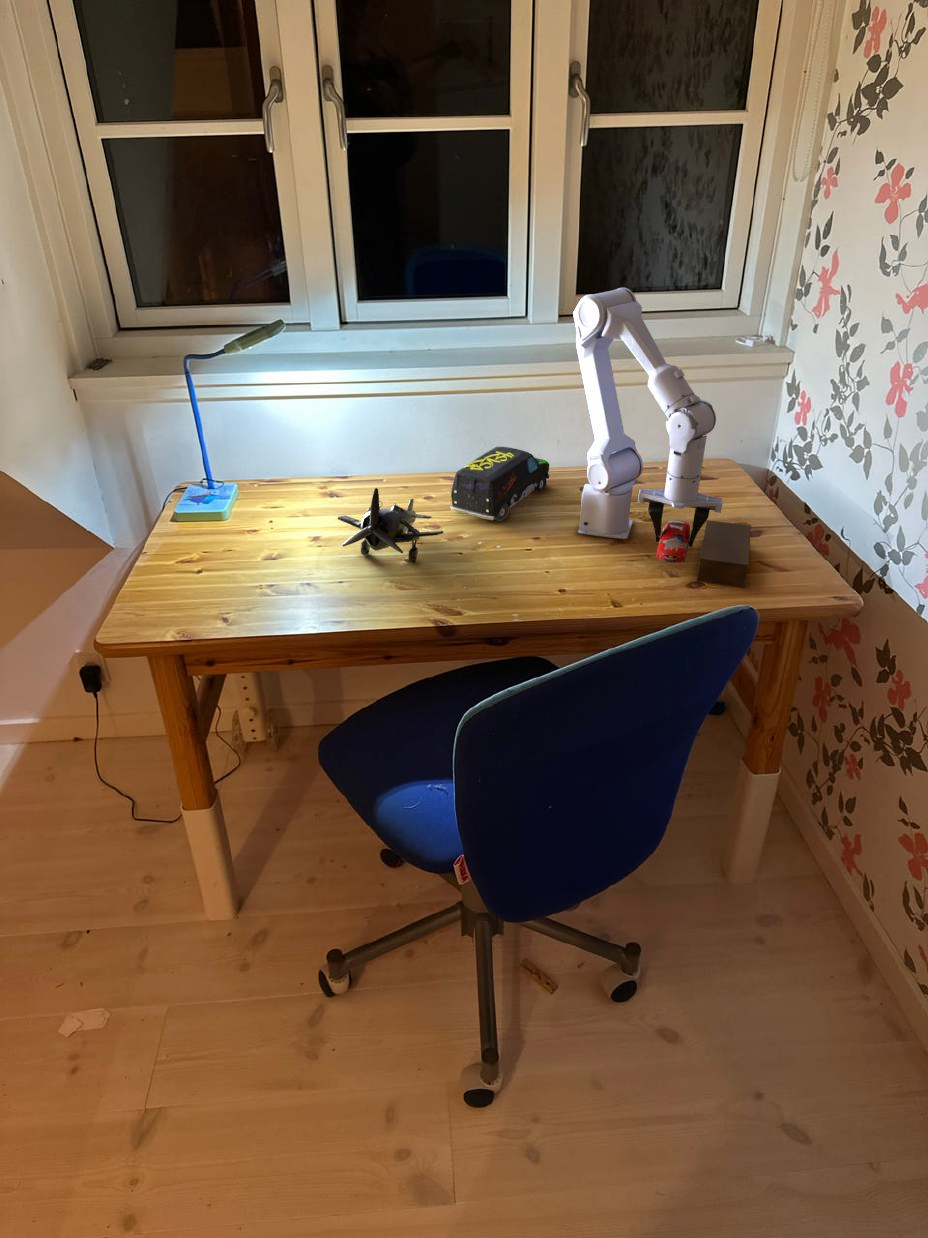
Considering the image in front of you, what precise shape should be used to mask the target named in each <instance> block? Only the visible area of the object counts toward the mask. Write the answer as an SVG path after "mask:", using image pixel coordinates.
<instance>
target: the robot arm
mask: <svg viewBox="0 0 928 1238" xmlns="http://www.w3.org/2000/svg"><path fill="white" fill-rule="evenodd" d="M642 312H643V307H642V305H641V303H640V302H639V301H638V300H637V297H636V295H635V294H634V292H633V291H632V290H631V289H630V288H627V287H619V288H616V289H613V290H608V291H604V292H598V293H594V294H593V293H590V294H585V295H584V296H583V297H581V299H580V300H579V301H578V303H577V305H576V306H575V309H574V311H573V312H572V314H573V320H574V325H575V330H576V337H575V346H576V352H577V357H578V362H579V367H580V372H581V377H582V382H583V386H584V392H585V396H586V402H587V408H588V411H589V418H590V422H591V426H592V427H591V428H592V432H593V436H594V441H593V443H592V445H591V446H590V448H589V449H588V451H587V453H586V457H587V468H586V476H587V480H588V482H589V483H584V486H583V489H582V493H581V502H580V512H579V526H578V531H577V532H578V534H581V535H587V536H594V537H602V538H609V539H610V538H611V539H619V540H628V538H629V535H630V533H631V530H632V527H633V523H634V522H633V520H632V519H631V520H630V515H631V506H632V505H631V504H632V496H633V489H634V486H636V480H637V479H639V478H640V476H641V475H642V474H643V469H644V463H643V462H644V461H643V459H642V456H641V455H640V453H639V450H638V448H637V445H636V442H635V440H634V439H633V438H631V437H630V436H628V435H627V434H626V433H625V429H624V425H623V419H622V414H621V409H620V404H619V399H618V393H617V388H616V382H615V376H614V373H613V367H612V362H611V356H610V352H609V348H610V346H611V345H612V342H613V341H614V340H619V341H622V342H623V343H624V344H625V346H626V347H627V348H628V350H629V351H630V353H631V354H632V355H633V356H634V357H635V359H636V361H637V362H638V363H639V364H640V366H641V367H642V368H643V370H644V371H645V372H646V374H647V375H648V381H647V388H648V389H649V391H650V393H651V394H652V396H653V397H654V399H655V401H656V402H657V404H658V405H659V407H660V408H661V411H662V412H663V413H664V414H665V416H666V418H667V419H668V420H666V421H665V429H666V433H667V434H668V437H669V444H668V446H670V447H669V456H668V463H667V470H666V477H665V485H664V488H658V489H656V488H655V489H653V488H652V489H646V488H639V490H638V491H639V492H638V496H637V504H644V503H648V507H647V513H648V515H649V517H650V519H651V523H652V526H653V531H654V536H655V537H654V538H655V539H654V541H655V543H659V542H660V539H661V538H659V536H661V535H662V527H663V526H662V525H663V514H664V508H665V505H666V506H671V507H672V508H673V509H681V510H683V509H685V508H690V509H695V510H694V514H693V520H692V527H691V533H690V539H689V540H690V541H689V545H688V548H692V547H693V545H694V542H695V540H696V537H697V536H698V533H699V532H700V530H701V529H702V527H703V526H704V524H706V522H707V520H709V516H710V511H713V512H714V513H717V514H718V513H719V514H721V513H722V510H723V505H724V498H721V497H715V496H711V495H707V494H704V493H700V492H699V488H700V482H701V475H702V469H703V464H704V463H703V462H704V456H705V450H706V444H707V439H708V438H707V437H708V434H710V433H711V432H713V430H714V429H715V426H716V422H717V415H716V412H715V409H714V406H713V404H711V403H710V402H709V401H707V400H703V399H701V397H700V396H698V395H697V394H695V392H694V390H693V389H692V387H691V386H690V384H689V383H688V381H687V379H686V377H685V376H686V375H685V373H684V371H683V370H682V369H679V367H678V366H677V365H673V364H669V363H667V362H666V359H665V358H664V356H663V354H662V353H661V350H660V348H659V347H658V344H657V343H656V341H655V340H654V338H653V336H652V334H651V332H650V330H649V329H648V327H647V324H646V323H645V321H644V319H643V317H642V316H643V313H642Z"/></svg>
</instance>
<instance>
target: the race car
mask: <svg viewBox="0 0 928 1238" xmlns="http://www.w3.org/2000/svg"><path fill="white" fill-rule="evenodd" d="M691 531H692V529H691V525H690V523H688V522H687V521H685V520H675V519H671V520H668V521H666V523H665V524H664V526H663V528H662V530H661V536H659V538H660V541H659V542H658V546H657V549H656V559H658V560H660V561H662V562H666V563H674V564H675V563H676V564H679V563H685V562H686V557H687V555H688V549H689V547H688V546H689V541H690V535H691Z"/></svg>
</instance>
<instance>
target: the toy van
mask: <svg viewBox="0 0 928 1238" xmlns="http://www.w3.org/2000/svg"><path fill="white" fill-rule="evenodd" d="M549 472H550V463H549V461H547V460H545V459H543V458H538V457H535V456H534V455H533V453H531V452H528V451H525V450H523V449H519V448H514V447H508V446H495V447H493V448H492V449H490V450H488V451H486V452H484V453H483V454H481V455H480V456H478V457H476V458H475V459H473V460H472V461H470V462H469V463H467V464H466V465H464V466H463V467H461V468H460V469H458V470H457V471H456V472H455V475H454V477H453V481H452V486H451V491H450V494H451V495H450V498H451V505H450V509H451V511H454V512H458V513H461V514H465V515H469V516H472V517H476V518H479V519H483V520H484V519H485V520H488V521H494V520H495V521H497V522H498V521H499V522H500V521H503V520H504V519H505V518H507V517H508V516H509V513H510V508H512V507H513V506H515V505H516V504H517V503H519V502H521V500H523V499H524V498H525V497H527V496H528V495H529V494H531V493H532V492H535V493H541V492H543V491H544V490H546V486H547V480H550V477H551V474H550V473H549Z"/></svg>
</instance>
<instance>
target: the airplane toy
mask: <svg viewBox="0 0 928 1238" xmlns="http://www.w3.org/2000/svg"><path fill="white" fill-rule="evenodd" d="M414 500H415V499H414V498H412V497H410V499H409V502H408V505H407V508H406V509H404V508H403V507H401V506H398V505H397V504H398V503H397V502H395V503H394V504H392V505H391V506H390V507H389V508H382V507H383V505H380V504H383V502H382V501H381V500H380V493H379V489H378V488H377V487H375V488H374V490H373V493H372V497H371V503H370V507H368V508H367V510H366V513H364V514H363V517H362V518H361V519H362V520H359V519H356V518H355V517H351V516H348V515H339V516H337V520H338V521H341V522H343V523H345V524H348V525H351V526H352V527H355V528H357V529H359V531H357V532H355V533H354V534H353V535H352V536H350V537H349V538H348V539H347V540H345V541H344V542H343V543H342V544H341V546H342V547H347V546H349V545H352V544H354V543H357V542H359V541H361V540H362V542H361V543H360V554H361V556H364V557H366V556H368V555H369V553H370V550H371V549H372V550H374V551H375V552H376V551H381V550H384V549H387V548H389V547H391V548H392V549H393V550H396V551H397V552H399V553H400V554H404V550H402V549H401V548H400V547H399V545H398V544H402V543H409V542H411V548H410V549H409V550H408V563H409V564H411V565H413V564H416V563H417V561H418V560H417V559H418V556H419V555H418V554H419V547H417V541H418V540H419V539H420V537H422V538H423V537H432V536H439V535H443V534H444V530H432V531H419V529H417V528H415V527H413V525H414V524H415V521H416V519H432V518H433V516H430V515H425V514H418V513H417V512H416V511H415V510H414Z"/></svg>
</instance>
